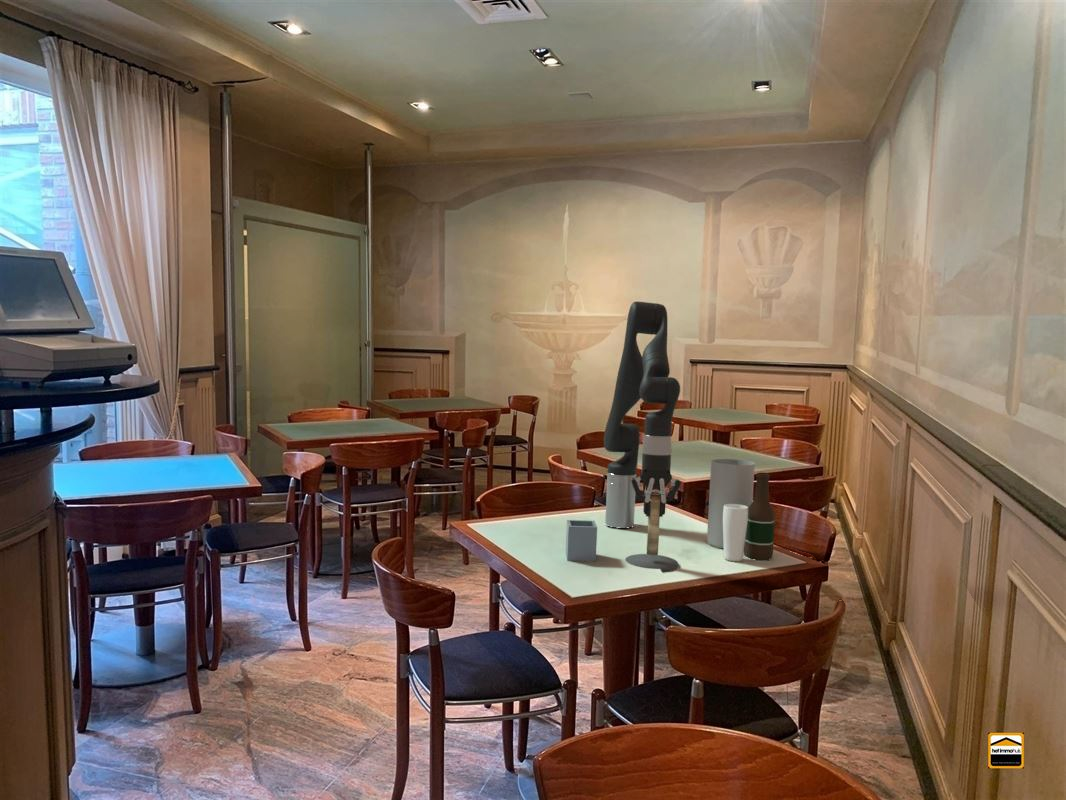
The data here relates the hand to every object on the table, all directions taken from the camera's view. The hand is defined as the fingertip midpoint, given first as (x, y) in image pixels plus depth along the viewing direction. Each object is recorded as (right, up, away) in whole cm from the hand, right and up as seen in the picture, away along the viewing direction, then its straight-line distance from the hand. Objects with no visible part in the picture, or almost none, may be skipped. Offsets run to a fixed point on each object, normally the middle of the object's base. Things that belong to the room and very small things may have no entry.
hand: (653, 515), depth 208 cm
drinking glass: (+23, -14, +8) cm, 28 cm away
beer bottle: (+31, -14, +12) cm, 36 cm away
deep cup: (-20, -12, +3) cm, 23 cm away
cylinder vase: (+26, -13, +25) cm, 38 cm away
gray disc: (-1, -13, +1) cm, 13 cm away
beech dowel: (0, -10, +1) cm, 10 cm away
